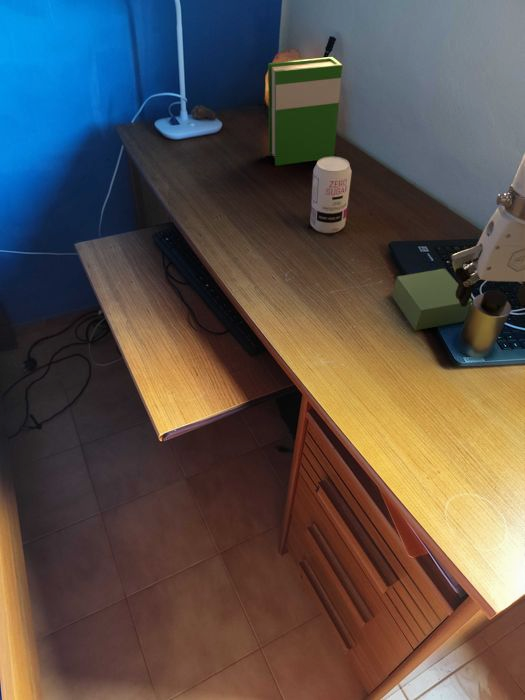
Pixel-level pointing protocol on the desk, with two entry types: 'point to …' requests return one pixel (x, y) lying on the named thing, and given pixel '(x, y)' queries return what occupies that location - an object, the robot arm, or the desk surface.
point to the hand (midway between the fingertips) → (491, 301)
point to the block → (429, 299)
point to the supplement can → (330, 194)
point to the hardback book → (303, 109)
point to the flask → (484, 324)
